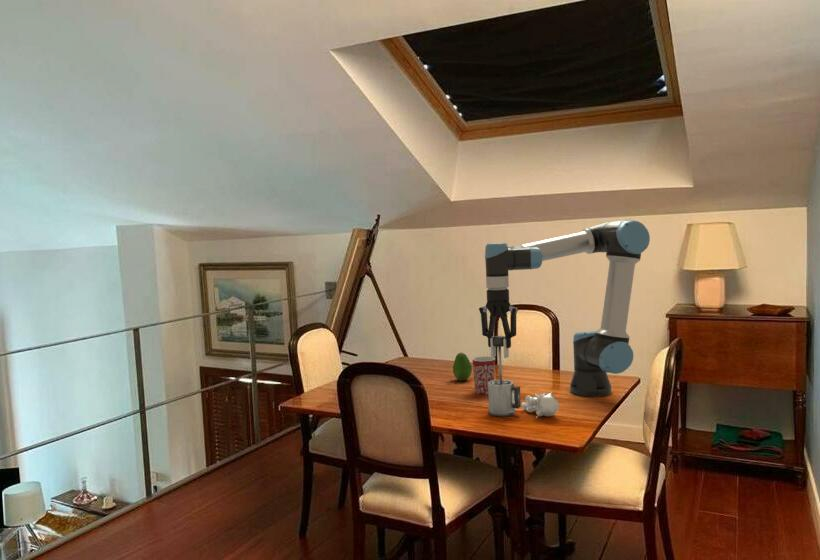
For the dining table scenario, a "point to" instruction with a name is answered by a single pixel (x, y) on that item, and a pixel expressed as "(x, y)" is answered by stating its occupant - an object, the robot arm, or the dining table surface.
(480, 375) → the mug
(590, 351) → the robot arm
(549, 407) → the figurine
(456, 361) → the avocado
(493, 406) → the grey coffee mug
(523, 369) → the dining table surface
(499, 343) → the plunger
